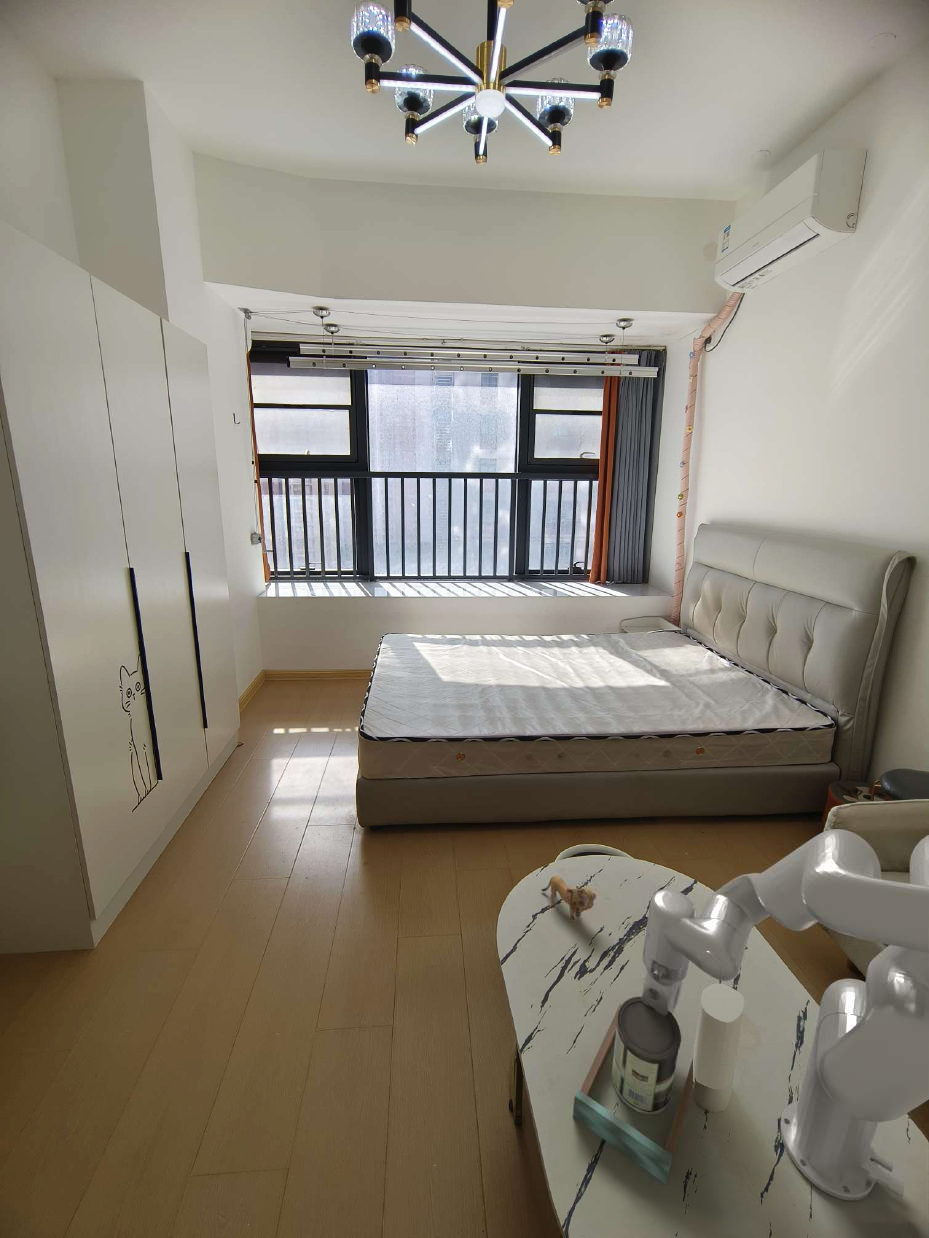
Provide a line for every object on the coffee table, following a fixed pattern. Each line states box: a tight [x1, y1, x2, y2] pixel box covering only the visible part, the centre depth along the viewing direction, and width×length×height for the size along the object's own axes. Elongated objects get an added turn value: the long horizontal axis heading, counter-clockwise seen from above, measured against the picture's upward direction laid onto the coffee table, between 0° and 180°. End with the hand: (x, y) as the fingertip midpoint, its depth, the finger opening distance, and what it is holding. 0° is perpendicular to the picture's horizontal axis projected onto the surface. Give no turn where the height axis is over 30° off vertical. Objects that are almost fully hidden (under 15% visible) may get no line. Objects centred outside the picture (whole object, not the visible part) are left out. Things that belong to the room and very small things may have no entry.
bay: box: [572, 1003, 694, 1185], centre depth 95 cm, size 15×21×5 cm
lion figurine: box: [541, 875, 597, 923], centre depth 132 cm, size 15×5×9 cm, turn 46°
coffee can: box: [611, 996, 682, 1115], centre depth 94 cm, size 10×10×14 cm
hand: (653, 1032), depth 102 cm, fingers closed
